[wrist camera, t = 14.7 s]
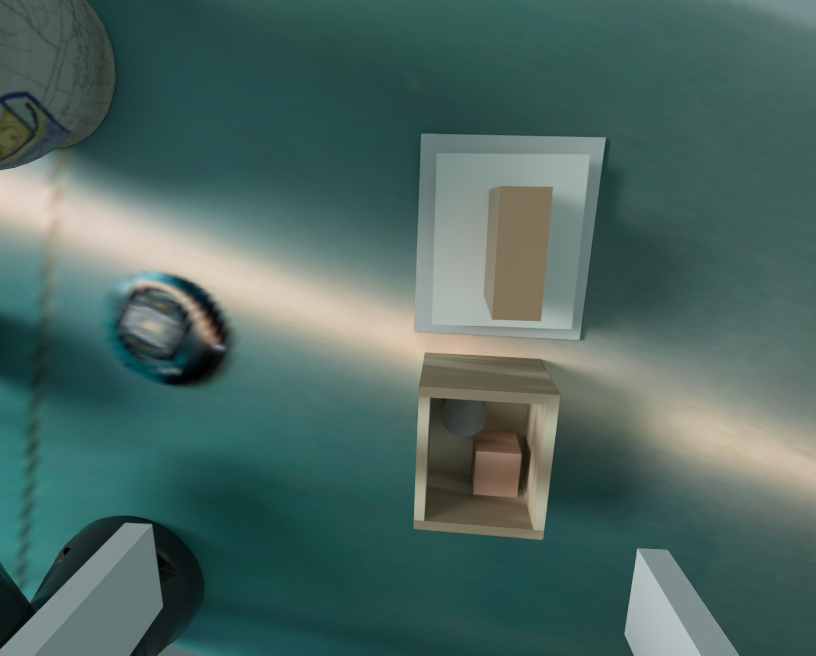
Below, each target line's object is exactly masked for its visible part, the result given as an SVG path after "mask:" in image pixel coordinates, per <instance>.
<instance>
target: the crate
mask: <svg viewBox="0 0 816 656" xmlns="http://www.w3.org/2000/svg"><path fill="white" fill-rule="evenodd" d="M559 403H560V393H559V392H558V390H557V388H556V386H555V385H554V383H553V381H552V379H551V378H550V376H549V374H548V372H547V370H546V369H545V367H544V365H543V363H542V362H541V360H540V359H529V358H511V357H493V356H475V355H458V354H440V353H425V355H424V361H423V367H422V373H421V379H420V385H419V405H418V430H417V455H416V481H415V506H414V529H421V530H433V531H445V532H457V533H469V534H481V535H493V536H505V537H517V538H529V539H541V540H543V534H544V526H545V518H546V509H547V501H548V493H549V485H550V477H551V468H552V460H553V452H554V444H555V436H556V428H557V419H558V411H559Z"/></svg>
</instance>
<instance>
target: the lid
mask: <svg viewBox="0 0 816 656" xmlns="http://www.w3.org/2000/svg"><path fill="white" fill-rule="evenodd" d="M589 161H590V154H471V153H437V161H436V195H435V230H434V264H433V299H432V324H437V325H465V326H492V327H520V328H548V329H572V320H573V310H574V301H575V292H576V282H577V273H578V263H579V254H580V245H581V235H582V226H583V217H584V207H585V198H586V189H587V179H588V170H589Z"/></svg>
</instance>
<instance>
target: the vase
mask: <svg viewBox="0 0 816 656" xmlns="http://www.w3.org/2000/svg"><path fill="white" fill-rule="evenodd" d="M115 82H116V70H115V59H114V54H113V49H112V45H111V42H110V39H109V37H108V34H107V32H106V29H105V27H104V25H103V23H102V22H101V20H100V18H99V17H98V15H97V14H96V12H95V11H94V10H93V8H92V7H91V6H90V5H89V3H88V2H87V1H86V0H0V170H4V169H10V168H15V167H18V166H21V165H24V164H27V163H30V162H32V161H34V160H36V159H39V158H41V157H42V156H44V155H46V154H47V153H49V152H51V151H52V150H54V149H55V148H56V147H66V146H71V145H74V144H76V143H78V142H80V141H82V140H84V139H85V138H86V137H88V136H89V135H90V134H92V133H93V132H94V131H95V130H96V129H97V128H98V127H99V126H100V124H101V122H102V121H103V119H104V118H105V116H106V115H107V113H108V110H109V107H110V104H111V100H112V97H113V93H114V88H115Z"/></svg>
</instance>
